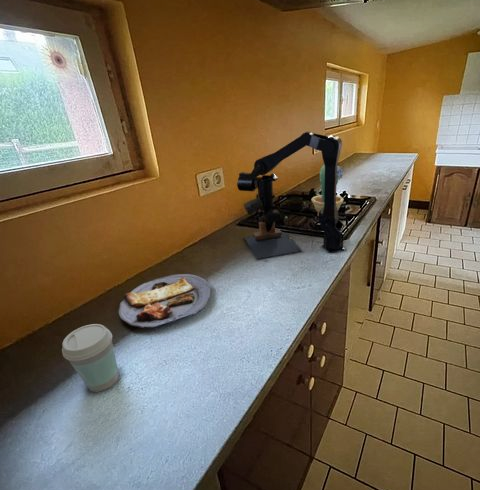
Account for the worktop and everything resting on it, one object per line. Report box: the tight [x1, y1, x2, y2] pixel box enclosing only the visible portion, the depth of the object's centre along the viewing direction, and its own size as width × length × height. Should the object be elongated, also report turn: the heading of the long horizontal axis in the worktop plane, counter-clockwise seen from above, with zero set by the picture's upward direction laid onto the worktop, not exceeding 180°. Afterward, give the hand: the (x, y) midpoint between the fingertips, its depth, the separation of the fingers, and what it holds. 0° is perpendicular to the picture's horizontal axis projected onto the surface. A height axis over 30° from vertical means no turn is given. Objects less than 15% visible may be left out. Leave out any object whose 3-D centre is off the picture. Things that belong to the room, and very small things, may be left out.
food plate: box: [117, 273, 211, 329], centre depth 86 cm, size 25×23×4 cm
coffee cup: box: [61, 323, 120, 393], centre depth 60 cm, size 8×8×12 cm
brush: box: [252, 221, 283, 242], centre depth 121 cm, size 11×4×7 cm, turn 109°
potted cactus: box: [311, 164, 345, 217], centre depth 142 cm, size 15×15×25 cm
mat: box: [244, 231, 302, 261], centre depth 119 cm, size 17×20×1 cm
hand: (267, 230), depth 121 cm, fingers closed on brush, 2 cm apart
